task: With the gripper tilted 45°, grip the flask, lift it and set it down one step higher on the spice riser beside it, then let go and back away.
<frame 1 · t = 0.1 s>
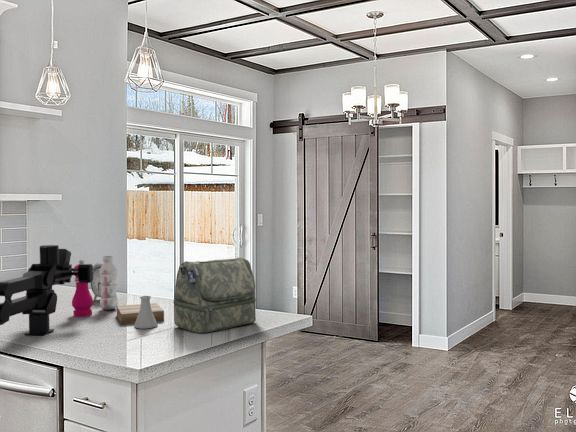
hand: (77, 270, 216), 17 cm above the counter, tool horizontal, fingers open, 9 cm apart
spice riser: (139, 318, 214), on the counter
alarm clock: (105, 300, 253), on the counter
pepper mill: (82, 315, 220), on the counter
plastic bottle: (109, 310, 231), on the counter
flask: (146, 327, 200), on the counter
lunch bag: (215, 326, 201), on the counter
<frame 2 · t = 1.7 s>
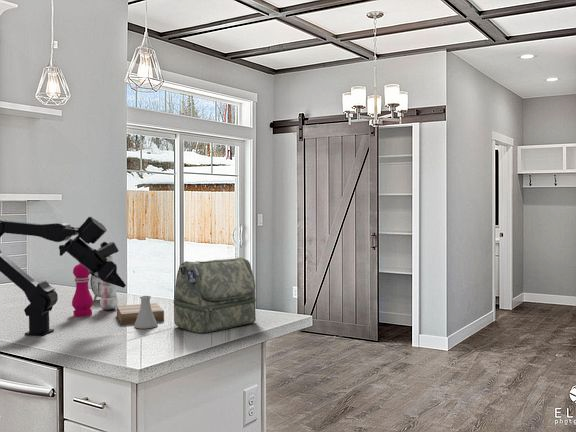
hand: (121, 285, 197), 14 cm above the counter, tool tilted 45°, fingers open, 9 cm apart
nothing on the counter moved.
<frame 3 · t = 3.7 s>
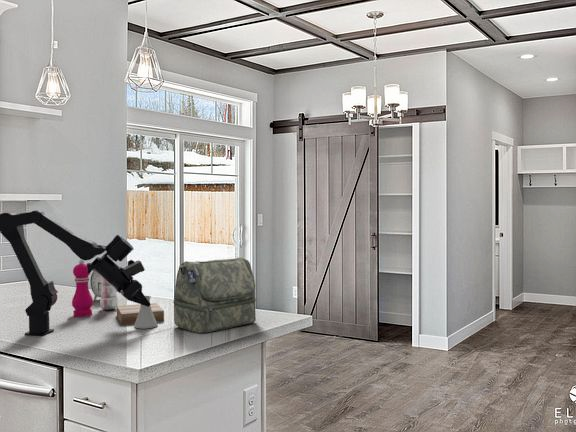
hand: (146, 303, 199), 8 cm above the counter, tool tilted 45°, fingers open, 9 cm apart
nothing on the counter moved.
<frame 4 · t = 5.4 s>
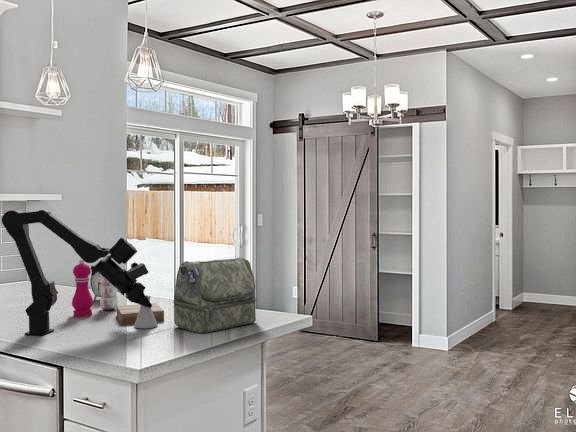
hand: (150, 305, 200), 7 cm above the counter, tool tilted 45°, fingers closed on flask, 3 cm apart
flask: (146, 327, 200), on the counter, touching gripper
everything else where it was.
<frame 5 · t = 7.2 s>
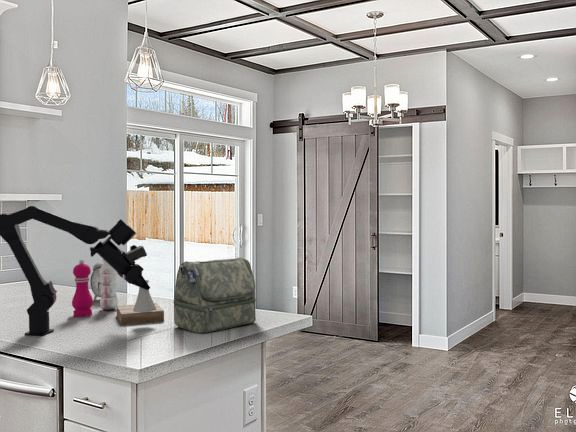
hand: (148, 288, 201), 12 cm above the counter, tool tilted 45°, fingers closed on flask, 3 cm apart
flask: (144, 311, 201), point 5 cm above the counter, touching gripper
everything else where it was.
when the fingers open (11 cm above the counter, at t = 9.2 s): flask stays where it is, resting on spice riser.
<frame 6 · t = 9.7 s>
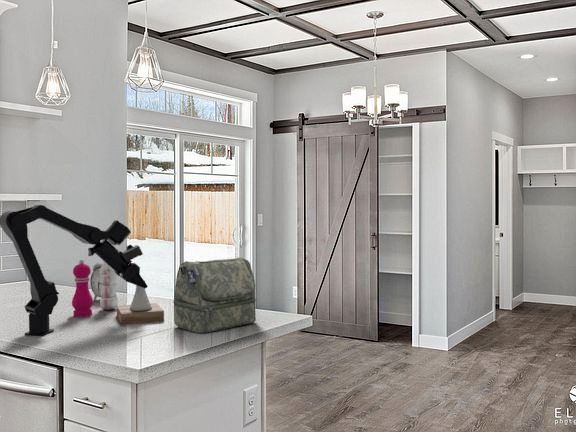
hand: (144, 285, 211), 12 cm above the counter, tool tilted 45°, fingers open, 8 cm apart
flask: (140, 310, 211), point 3 cm above the counter, touching spice riser
everything else where it was.
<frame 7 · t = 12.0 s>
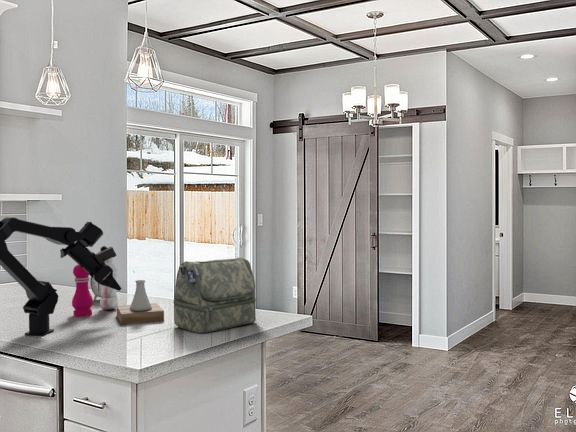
hand: (118, 287, 208), 11 cm above the counter, tool tilted 45°, fingers open, 9 cm apart
nothing on the counter moved.
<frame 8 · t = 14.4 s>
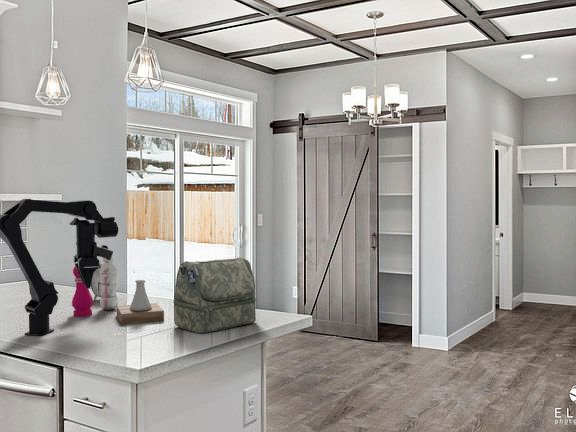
hand: (86, 286, 202), 13 cm above the counter, tool pointing down, fingers open, 9 cm apart
nothing on the counter moved.
at the end: flask inside the target area (0.1 cm from its centre), point 3.3 cm above the counter; flask tilted 0°; flask touching spice riser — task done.
